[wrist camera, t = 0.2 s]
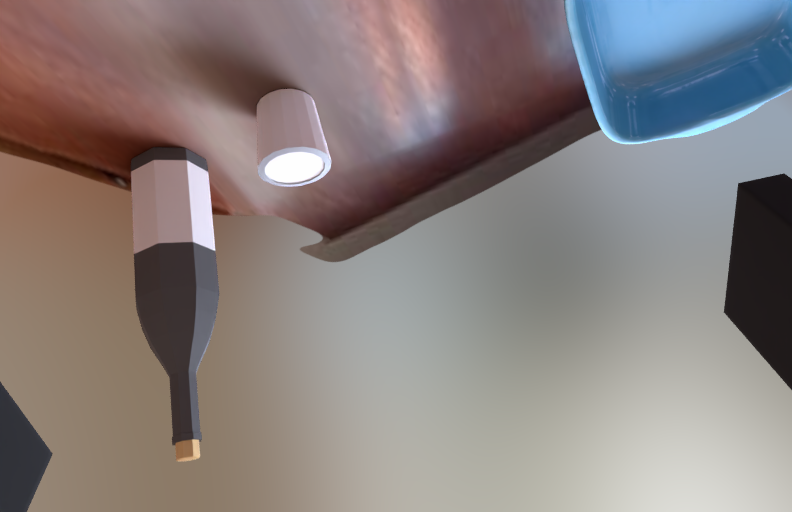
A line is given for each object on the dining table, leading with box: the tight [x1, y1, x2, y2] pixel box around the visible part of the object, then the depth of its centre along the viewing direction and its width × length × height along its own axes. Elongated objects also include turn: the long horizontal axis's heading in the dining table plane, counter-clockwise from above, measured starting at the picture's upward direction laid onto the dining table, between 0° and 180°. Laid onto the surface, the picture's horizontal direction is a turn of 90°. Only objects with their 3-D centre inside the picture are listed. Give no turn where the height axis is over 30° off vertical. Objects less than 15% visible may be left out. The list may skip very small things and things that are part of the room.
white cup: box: [257, 89, 331, 187], centre depth 61 cm, size 7×7×7 cm
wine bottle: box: [131, 147, 219, 461], centre depth 62 cm, size 8×8×30 cm
